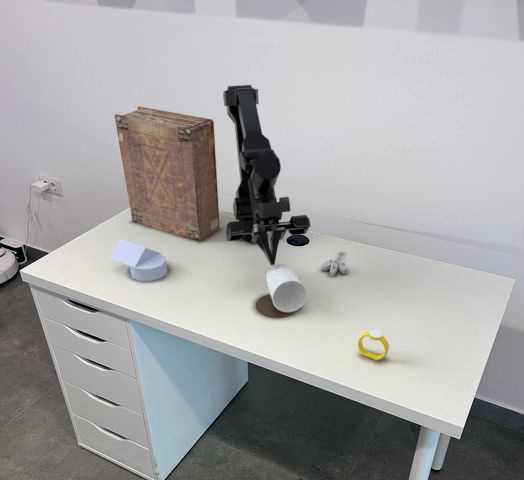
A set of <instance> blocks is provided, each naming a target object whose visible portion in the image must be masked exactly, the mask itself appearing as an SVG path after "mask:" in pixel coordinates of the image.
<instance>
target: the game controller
mask: <svg viewBox="0 0 524 480" xmlns="http://www.w3.org/2000/svg"><path fill="white" fill-rule="evenodd" d="M341 255H343V252H340V254H339V257H337V259H336V260H335V259H332V258H330V259H327V260H325V261H324V263H323V264H322V270H323V271H325V272H326V271H328V270H329V276H330V277H334V276H335V275H336V273H338V271H339V272H340V274H343V275H344V274H345V273H346V271H347V264H346V262H343V261H340V258H341Z"/></svg>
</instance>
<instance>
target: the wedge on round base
mask: <svg viewBox="0 0 524 480" xmlns="http://www.w3.org/2000/svg"><path fill="white" fill-rule="evenodd" d="M109 259H110V260H113V261H115V262H118V263H120V264H123V265H126V266H128V267H129V270H130V276H131V277H132V278H133V279H134V280H136V281H138V282H139V281H140V282H153V281H157V280H160V279H162V278H164V277H165V276H166V275H167V273H168V265H167V258H166V256H165V255H164V254H163V253H161V252H158V251H156V250H153V249H150V248H147V247H144V246H143V245H138V244H136V243H134V242H130V241H127V240H124V239H122V238H121V239H119V242H118V243H117V244H116V246H115V248H114V250H113V252H112V254H111V255H110V256H109Z"/></svg>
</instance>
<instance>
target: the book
mask: <svg viewBox="0 0 524 480" xmlns="http://www.w3.org/2000/svg"><path fill="white" fill-rule="evenodd" d="M136 109H137V110H133V111H130V112H127V113H125V114H119V113H115V114H114V121H115V126H116V134H117V139H118V144H119V151H120V156H121V162H122V167H123V174H124V179H125V180H124V181H125V186H126V191H127V196H128V203H129V209H130V215H131V220H132V222H133V223H135V224H139V225H141V226H145V227H149V228H151V229H152V228H153V229H156V230H159V231H163V232H166V233H170V234H173V235H175V236H180V237H183V238H187V239H189V240H193V241H196V242H202V241H203V240H205V239H206V238H207V237H208V238H209V236H211V235H212V234H214V233H216V232H217V231H218V230H220V229H221V228H220V227H221V225H220V211H219V210H220V209H219V208H220V207H219V194H218V193H219V192H218V176H217V175H218V173H217V157H216V139H215V122H214V119H212V118H211V119H210V118H206V117H200V116H195V115H189V114H184V113H178V112H174V111H167V110H163V109H156V108H150V107H145V106H137V107H136Z"/></svg>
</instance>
